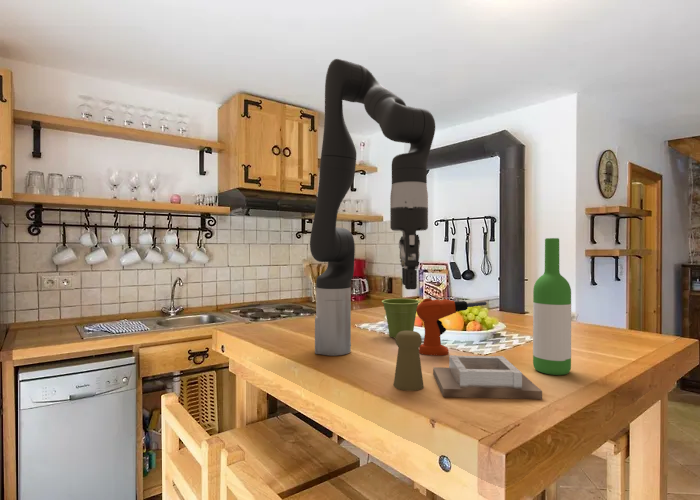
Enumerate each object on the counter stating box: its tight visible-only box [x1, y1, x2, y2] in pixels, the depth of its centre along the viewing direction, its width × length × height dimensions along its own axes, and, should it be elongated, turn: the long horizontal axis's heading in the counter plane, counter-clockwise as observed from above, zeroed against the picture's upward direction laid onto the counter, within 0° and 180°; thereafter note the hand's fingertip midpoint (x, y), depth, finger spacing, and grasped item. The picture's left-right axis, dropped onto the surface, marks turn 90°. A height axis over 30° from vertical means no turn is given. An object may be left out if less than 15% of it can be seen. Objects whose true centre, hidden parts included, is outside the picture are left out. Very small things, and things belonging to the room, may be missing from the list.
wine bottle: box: [532, 237, 572, 376], centre depth 94 cm, size 8×8×30 cm
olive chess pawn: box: [393, 330, 425, 392], centre depth 84 cm, size 6×6×11 cm
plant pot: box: [381, 298, 421, 339], centre depth 130 cm, size 12×12×11 cm
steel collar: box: [448, 354, 523, 389], centre depth 84 cm, size 11×12×3 cm
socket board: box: [432, 366, 543, 400], centre depth 84 cm, size 18×14×2 cm
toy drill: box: [416, 297, 488, 356], centre depth 109 cm, size 5×19×15 cm, turn 82°
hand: (409, 287), depth 84 cm, fingers open, 8 cm apart
